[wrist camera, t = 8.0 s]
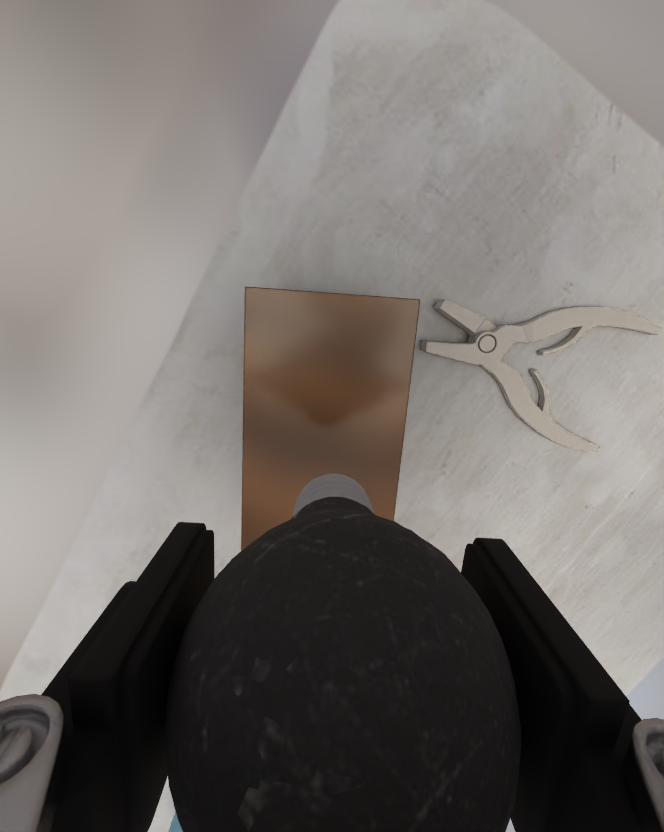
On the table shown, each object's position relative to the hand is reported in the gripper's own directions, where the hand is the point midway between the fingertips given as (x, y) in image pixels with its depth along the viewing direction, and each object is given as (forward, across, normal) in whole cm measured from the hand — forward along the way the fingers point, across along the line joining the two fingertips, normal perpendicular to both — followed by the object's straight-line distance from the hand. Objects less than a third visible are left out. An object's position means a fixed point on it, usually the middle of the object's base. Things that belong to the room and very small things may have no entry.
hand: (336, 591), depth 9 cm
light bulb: (+5, 0, 0) cm, 5 cm away
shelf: (+20, 0, 0) cm, 20 cm away
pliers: (+20, -14, -4) cm, 25 cm away
